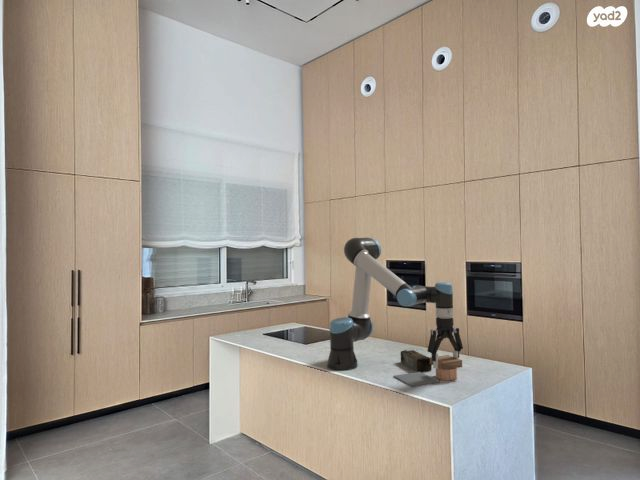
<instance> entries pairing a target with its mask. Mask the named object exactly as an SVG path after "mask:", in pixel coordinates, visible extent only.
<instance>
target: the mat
mask: <svg viewBox="0 0 640 480" xmlns="http://www.w3.org/2000/svg"><path fill="white" fill-rule="evenodd" d="M393 378H394V379H397V380H398V381H400V382H402V383H404V384H405V385H407V386H410V387H411V388H412V387H417V386H418V387H419V386H425V385H432V384H438V383H440V380H439V379H436V378H434V377H431V376H430V375H429V374H428V375H427V374H425V373H424V372H417V371H416V372H410V373H402V374H396V375H393Z"/></svg>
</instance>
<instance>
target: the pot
mask: <svg viewBox="0 0 640 480" xmlns="http://www.w3.org/2000/svg"><path fill="white" fill-rule="evenodd" d="M435 377H436V378H437V380H441V381H455V380H457V379H458V368H452V369H445V370H443V369H440V368H438V369H436V368H435Z"/></svg>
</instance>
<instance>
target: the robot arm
mask: <svg viewBox="0 0 640 480" xmlns="http://www.w3.org/2000/svg"><path fill="white" fill-rule="evenodd" d="M343 253H344V257H345V258H346V259H347V260H348V261H349V263H351V264H353V266H355V270H354V283H353V284H354V285H353V292H352V300H351V301H352V302H351V303H352V304H351V310H350V311H349V312H348V314H347V317H346V316H345V317H343V316H342V317H338V318H334V319H332V320H331V321H330V323H329V343H330V344H329V345H330V351H329V354H328V358H327V362H326V364H327V365H326V366H327V368H329V369H331V370H336V371H337V370H338V371H346V370H348V371H349V370H353V369H355V368H357V367H358V366H359V365H358V359H357V356H356V354H355V351H354V350H355V349H354V348H355V347H354V343H356V342H358V341H363V340H365V339H367V338H369V337H370V336H371V335H372V334H373V333H374V322H373V321H372V319H371V315H370V313H369V306H370V305H369V303H370V296H371V295H370V294H371V286H372V278H373V280H375V281H376V282H378V283H379V284H380V285H381V286H383V287H384V288H385V289H387V290H388V291H389V292H390V293H391V294H392V295H393V296H395V297H396V300H397V302H398V304H399V305H400V306H402V307H412V306H414V305H420V304H424V303H428V304H430V303H431V304H435V316H436V318H435V326H436V329H434V330H433V329H431V330H430V337H429V341H428V346H427V350H426V351H427V352H428V353H430V354H431V357H432V361H433V365H432V369H433V368H434V369H435V370H436V369H438V356H439V354H438V350H439V348H440V346H441V343H442V342H443V340H444V339H448V340H449V343H450V344H451V346H452V347H453V350H452V357H455V358H457V359H459V358H460V352H461V351H462V350H463V349H464V346H463V343H462V339H461V335H460V328H459V327H453V326H454V318H453V317H454V301H453V300H454V299H453V298H454V297H453V296H454V291H453V284H452V283H451V282H443V281H442V282H439V281H438V282H436V283H434V286H426V285H425V286H424V285H413V286H411V285H409V284H408V283H407V282H405V281H404V280H403V279H402V278H400V277H399V276H397V275H396V273H394V272H393V271H391V270H390V269H389V268H387V267H386V266H384V265H383V264H382V263H381V262H380V261H378V259H379V257H380V256H381V255H382V254H381V253H382V247H381V245H380V242H379V241H378V240H377V239H376V238H372V237H371V238H370V237H353V238H350V239H349V240H347V241H346V242H345V244H344V247H343Z"/></svg>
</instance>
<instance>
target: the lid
mask: <svg viewBox="0 0 640 480" xmlns="http://www.w3.org/2000/svg"><path fill="white" fill-rule="evenodd" d="M429 358H430V364H431V365H432V366H433V361H432V356H429ZM438 368H440V369H443V370H445V369H452V368H457V369H459V368H463V359H459V358H458V359H457V358H455V357H453V355H449V354H444V355H438Z"/></svg>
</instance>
